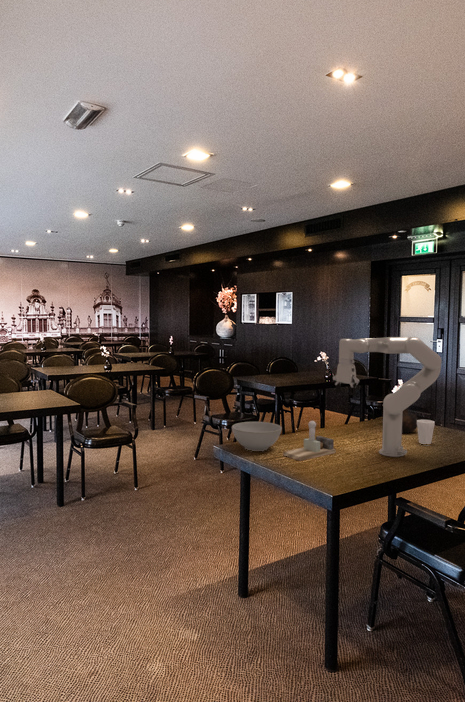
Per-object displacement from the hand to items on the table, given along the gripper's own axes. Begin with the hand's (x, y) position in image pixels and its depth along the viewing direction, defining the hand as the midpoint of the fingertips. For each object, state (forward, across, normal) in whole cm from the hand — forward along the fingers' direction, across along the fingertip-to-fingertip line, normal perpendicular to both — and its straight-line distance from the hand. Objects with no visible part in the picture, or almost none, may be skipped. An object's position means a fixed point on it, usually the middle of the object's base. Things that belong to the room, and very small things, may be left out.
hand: (345, 393), depth 265 cm
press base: (+30, +4, +22) cm, 38 cm away
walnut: (+28, +4, +15) cm, 32 cm away
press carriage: (+28, +4, +20) cm, 35 cm away
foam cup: (+31, -18, -48) cm, 60 cm away
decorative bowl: (+31, +28, +38) cm, 56 cm away
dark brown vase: (+31, +8, -65) cm, 72 cm away
